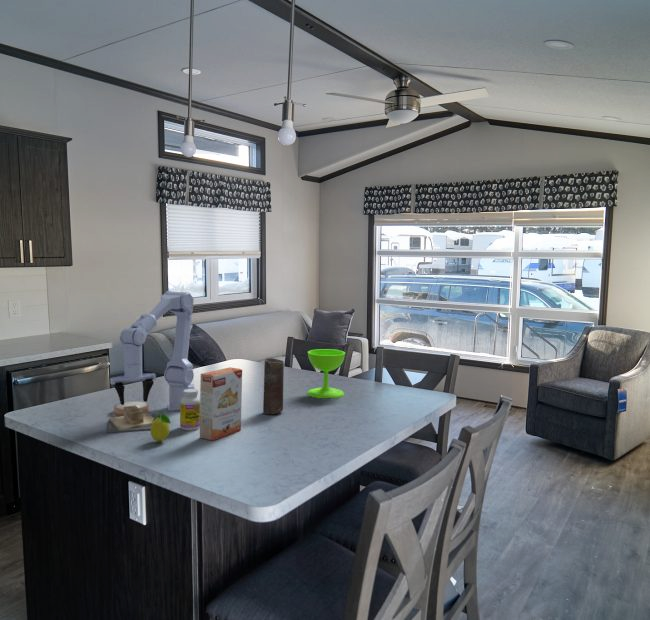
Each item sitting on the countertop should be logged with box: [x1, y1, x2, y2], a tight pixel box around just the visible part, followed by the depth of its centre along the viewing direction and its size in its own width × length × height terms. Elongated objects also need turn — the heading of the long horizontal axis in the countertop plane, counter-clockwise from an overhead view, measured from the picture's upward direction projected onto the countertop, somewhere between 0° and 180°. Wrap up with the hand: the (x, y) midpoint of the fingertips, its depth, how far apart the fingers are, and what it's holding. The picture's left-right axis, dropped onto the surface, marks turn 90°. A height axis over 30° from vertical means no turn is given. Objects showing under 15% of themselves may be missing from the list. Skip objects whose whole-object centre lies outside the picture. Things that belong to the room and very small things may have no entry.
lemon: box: [150, 410, 171, 443], centre depth 169 cm, size 7×6×10 cm
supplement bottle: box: [179, 388, 200, 431], centre depth 184 cm, size 7×7×13 cm
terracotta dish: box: [113, 400, 150, 417], centre depth 201 cm, size 12×12×3 cm
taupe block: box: [108, 405, 156, 431], centre depth 187 cm, size 13×13×5 cm
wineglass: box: [306, 348, 346, 399], centre depth 233 cm, size 16×16×18 cm
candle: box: [262, 357, 285, 415], centre depth 203 cm, size 8×7×20 cm
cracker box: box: [199, 366, 243, 441], centre depth 178 cm, size 14×6×21 cm, turn 148°
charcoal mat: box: [107, 414, 159, 434], centre depth 187 cm, size 16×16×1 cm
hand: (133, 402), depth 186 cm, fingers open, 7 cm apart
